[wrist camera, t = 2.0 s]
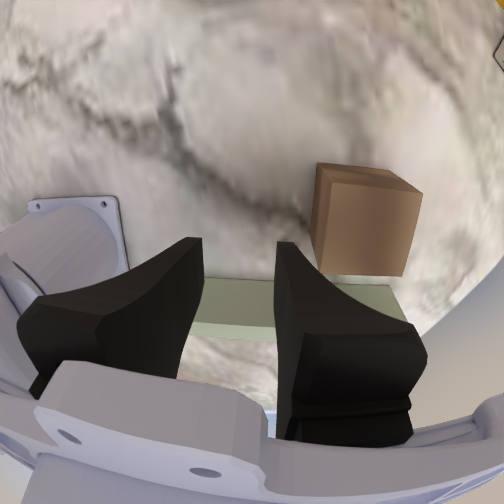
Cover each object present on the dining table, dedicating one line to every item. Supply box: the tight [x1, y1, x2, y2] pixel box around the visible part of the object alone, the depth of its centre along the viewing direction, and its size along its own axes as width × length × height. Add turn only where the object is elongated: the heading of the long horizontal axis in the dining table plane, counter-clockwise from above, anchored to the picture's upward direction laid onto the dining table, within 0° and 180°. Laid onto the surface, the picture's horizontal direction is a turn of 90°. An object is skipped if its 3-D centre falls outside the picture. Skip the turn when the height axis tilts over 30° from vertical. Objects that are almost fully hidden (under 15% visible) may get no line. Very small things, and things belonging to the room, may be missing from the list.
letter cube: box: [310, 162, 423, 277], centre depth 17 cm, size 5×5×5 cm
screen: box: [188, 277, 408, 341], centre depth 20 cm, size 15×3×5 cm, turn 89°
